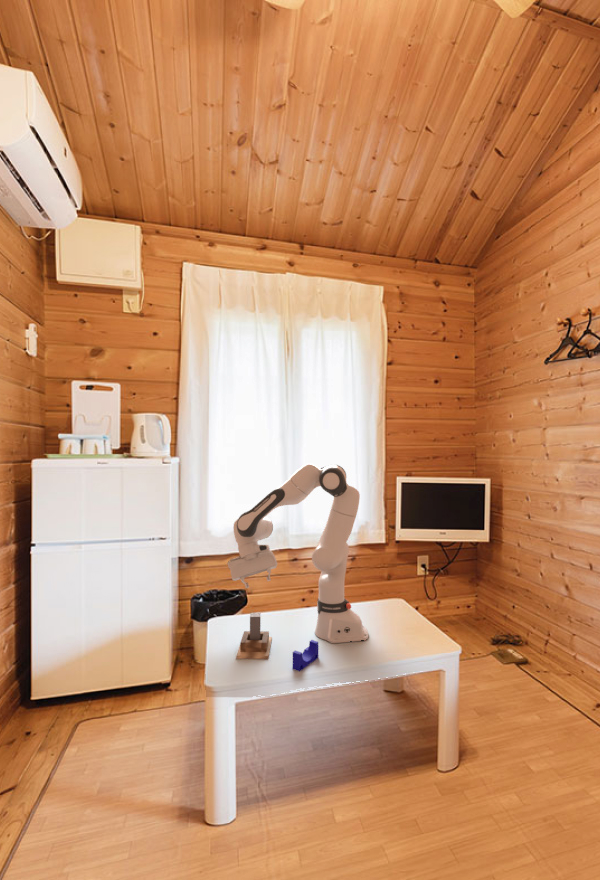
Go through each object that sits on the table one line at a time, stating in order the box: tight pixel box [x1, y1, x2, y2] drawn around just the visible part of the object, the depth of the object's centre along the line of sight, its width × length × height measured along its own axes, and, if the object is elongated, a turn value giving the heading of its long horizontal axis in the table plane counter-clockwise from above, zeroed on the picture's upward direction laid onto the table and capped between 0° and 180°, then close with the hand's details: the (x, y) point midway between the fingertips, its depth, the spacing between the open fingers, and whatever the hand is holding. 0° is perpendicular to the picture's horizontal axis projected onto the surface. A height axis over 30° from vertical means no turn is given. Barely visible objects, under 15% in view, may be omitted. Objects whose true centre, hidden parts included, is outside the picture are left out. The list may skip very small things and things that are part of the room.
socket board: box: [235, 630, 273, 660], centre depth 158 cm, size 12×16×4 cm
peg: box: [249, 612, 262, 640], centre depth 158 cm, size 4×4×12 cm
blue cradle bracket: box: [292, 639, 319, 672], centre depth 147 cm, size 12×4×6 cm, turn 144°
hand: (258, 584), depth 170 cm, fingers open, 8 cm apart
